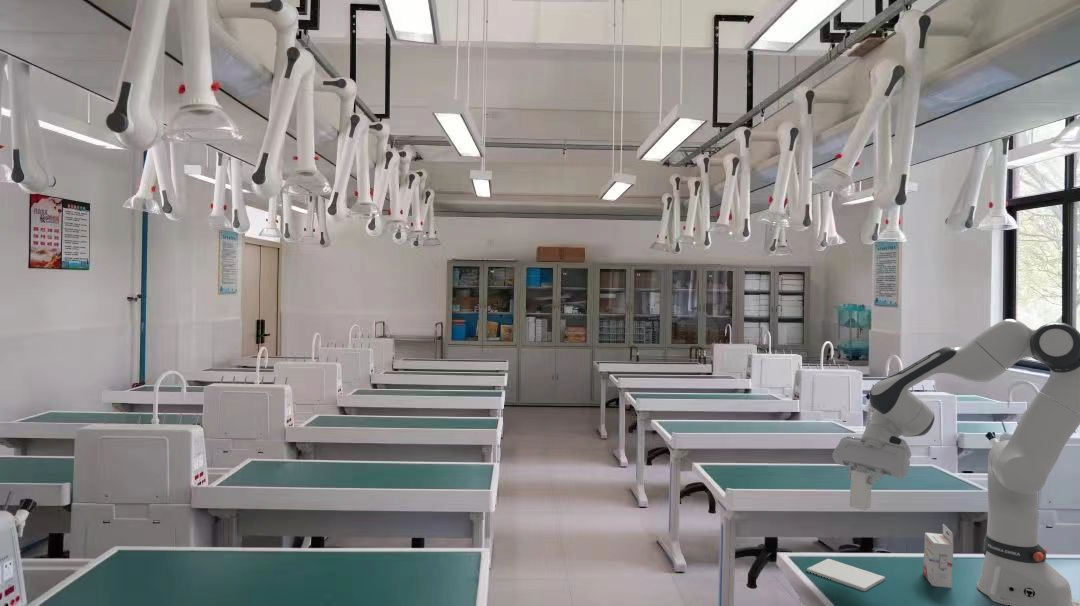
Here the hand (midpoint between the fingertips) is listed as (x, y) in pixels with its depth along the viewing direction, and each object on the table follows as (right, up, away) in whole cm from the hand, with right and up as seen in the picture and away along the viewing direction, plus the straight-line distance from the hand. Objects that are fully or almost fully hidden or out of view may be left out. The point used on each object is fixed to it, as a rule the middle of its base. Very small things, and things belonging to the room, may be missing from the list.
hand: (860, 481), depth 203 cm
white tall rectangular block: (0, -7, +1) cm, 7 cm away
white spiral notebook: (-6, -24, -5) cm, 26 cm away
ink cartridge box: (+18, -26, -7) cm, 32 cm away
